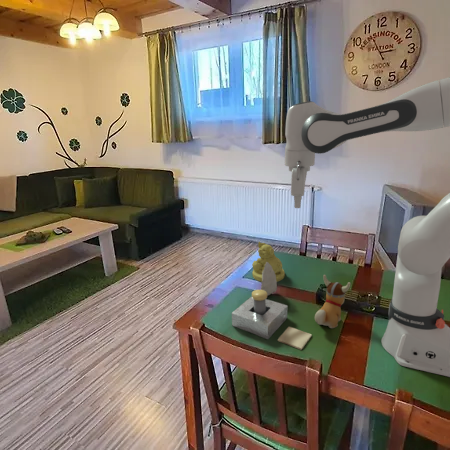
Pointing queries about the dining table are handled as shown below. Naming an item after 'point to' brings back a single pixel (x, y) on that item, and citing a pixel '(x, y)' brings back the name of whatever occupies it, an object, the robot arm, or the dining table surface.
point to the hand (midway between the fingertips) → (298, 203)
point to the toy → (332, 304)
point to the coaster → (294, 338)
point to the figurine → (268, 256)
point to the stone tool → (268, 279)
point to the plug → (259, 301)
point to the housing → (259, 318)
